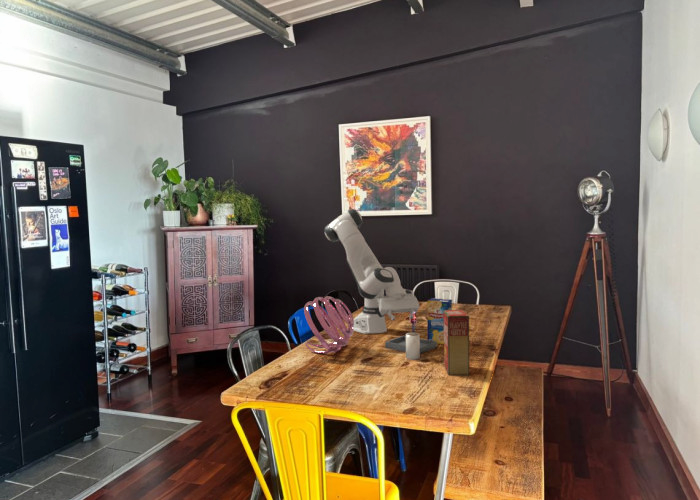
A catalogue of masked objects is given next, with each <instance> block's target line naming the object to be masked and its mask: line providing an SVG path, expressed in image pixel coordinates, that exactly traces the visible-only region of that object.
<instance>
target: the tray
mask: <svg viewBox="0 0 700 500" xmlns="http://www.w3.org/2000/svg"><path fill="white" fill-rule="evenodd" d="M384 347H385V349H390V350H394V351H398V352H399V351H400V352H404V353H406V335H401V336H398V337H396V338H393V339H392V338H391V339H389V340H387V341H385V342H384ZM436 348H438V347H437V341H431V340H427V339H424V338H420V355H422V354H424V353H426V352H430V351H431V350H435V349H436Z"/></svg>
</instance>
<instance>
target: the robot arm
mask: <svg viewBox="0 0 700 500" xmlns="http://www.w3.org/2000/svg"><path fill="white" fill-rule="evenodd" d="M362 224H363V218H362V214H361V213H360V212H359V211H358V210H356V209H353V208H352V209H348V210H347V211H346V212H343V213H342V214H341V215H339V216H337V217H336V218H335V219H334V220H332V221H331V222H330V223H328V224H327V225H326V226H325V227H324V230H323V231H324V236H325V238H326V239H327V240H328V241H330V242H332V243H336V242H337V243H338V242H339V241H340V242H341V244H342V246H343V248H344V249H345V254H346V263H347V266H348V268H349V269H350V270H349V271H350V272H351V274H352V276H353V279H354V280H355V283H356V285H357V290H358V293H359V295H360V296H361V297H362V298H364V305H363V306H361V307H360V310H361V313H359V314H358V315H357V316H355V317H353V319H354V326H353V332H357V333H359V334H364V335H365V334H381V333H386V332H387V331H388V329H387V326H386V317H385V315H386V314H387V316H388V317H389V318H390V319H391V321H395V320H396V316H395V315H393V314H399V313H410V314H409V316H408V317H409V320H414V313H417V312H418V311H419V310H420V302H419V300H418V299H417V297H416V295H414V291H413V290H411V289H406V288H403V286H402V285H401V280H400V277H399V274H398V273H397V270H396V269H395V268H393V267H391V266H386V267H383V266H382V265H381V263H380V262H379V261H378V258H377V257H376V255H375V253H374V252H373V251H372V249H371V248H370V246H369V245H368V243H367V242H366V240H365V237H364V236H363V235H362V232H360V230H359V229H361V226H362Z"/></svg>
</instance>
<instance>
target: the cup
mask: <svg viewBox="0 0 700 500" xmlns="http://www.w3.org/2000/svg"><path fill="white" fill-rule="evenodd" d="M405 336H406V352H405V358H406V359H407V360H413V361H414V360H415V361H416V360H419V359H420V358H421V357H420V356H421V354H420V339H421V337H420V336H421V335H420V333H418V332H407V333H405Z"/></svg>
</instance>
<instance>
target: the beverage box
mask: <svg viewBox="0 0 700 500" xmlns="http://www.w3.org/2000/svg"><path fill="white" fill-rule="evenodd" d="M426 303H427V304H426V306H427V312H426V313H427V318H426V319H427V323H426V325H427V327H426V328H427V331H426V332H427V339H426V340H431V341H437V344H438V345H444V313H443V311H444V310H453V300H452V299H448V298H447V299H446V298H435V297H433V298H430V299H428V300H427V301H426Z"/></svg>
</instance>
